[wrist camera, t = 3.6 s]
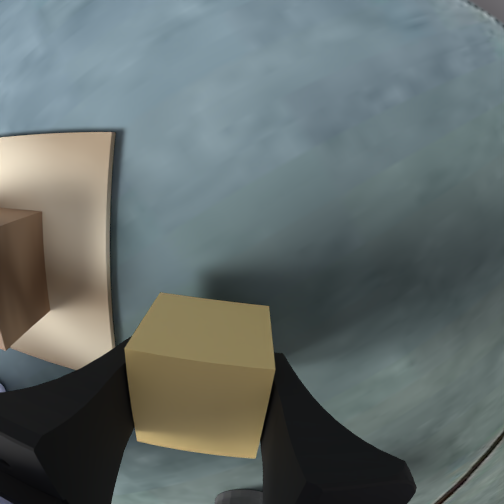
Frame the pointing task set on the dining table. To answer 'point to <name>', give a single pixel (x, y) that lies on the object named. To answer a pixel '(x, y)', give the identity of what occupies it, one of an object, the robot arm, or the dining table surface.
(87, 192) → the build board
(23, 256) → the walnut block
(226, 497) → the beverage cup
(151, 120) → the dining table surface
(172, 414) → the ochre block
